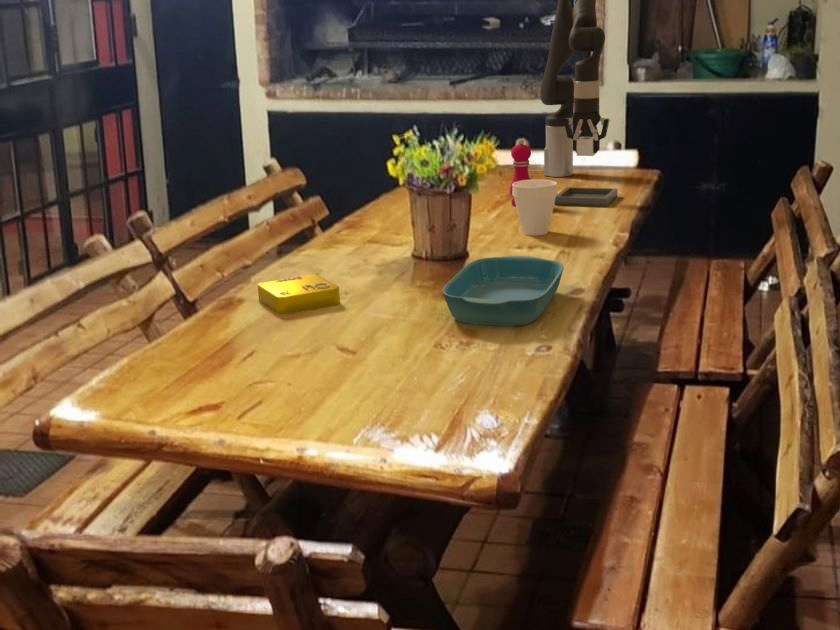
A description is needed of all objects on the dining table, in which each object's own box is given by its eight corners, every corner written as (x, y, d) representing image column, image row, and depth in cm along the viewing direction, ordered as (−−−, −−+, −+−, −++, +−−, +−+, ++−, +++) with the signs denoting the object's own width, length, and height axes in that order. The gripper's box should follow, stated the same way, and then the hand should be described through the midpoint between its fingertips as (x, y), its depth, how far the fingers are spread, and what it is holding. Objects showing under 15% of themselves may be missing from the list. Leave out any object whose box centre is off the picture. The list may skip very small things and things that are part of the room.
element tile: (317, 291, 271) (315, 271, 269) (343, 306, 258) (342, 285, 256) (256, 301, 264) (254, 281, 263) (280, 317, 251) (278, 296, 250)
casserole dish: (538, 336, 231) (538, 301, 229) (431, 330, 238) (430, 296, 236) (571, 287, 265) (571, 256, 263) (477, 283, 271) (476, 253, 269)
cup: (555, 238, 311) (555, 187, 307) (510, 237, 313) (509, 187, 309) (559, 227, 322) (559, 179, 318) (515, 227, 325) (514, 179, 321)
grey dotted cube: (576, 155, 351) (576, 139, 349) (580, 153, 355) (580, 136, 354) (592, 156, 349) (593, 139, 348) (596, 153, 354) (596, 136, 352)
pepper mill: (505, 204, 356) (504, 139, 350) (526, 201, 359) (525, 136, 353) (517, 208, 350) (516, 141, 344) (538, 205, 353) (537, 139, 347)
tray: (554, 205, 352) (554, 196, 351) (567, 194, 366) (567, 187, 365) (606, 206, 346) (606, 198, 346) (617, 196, 361) (617, 188, 360)
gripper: (613, 94, 348) (612, 151, 353) (566, 94, 353) (566, 150, 358) (607, 97, 341) (607, 155, 346) (560, 97, 346) (560, 154, 351)
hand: (586, 152), depth 352 cm, fingers closed on grey dotted cube, 5 cm apart
